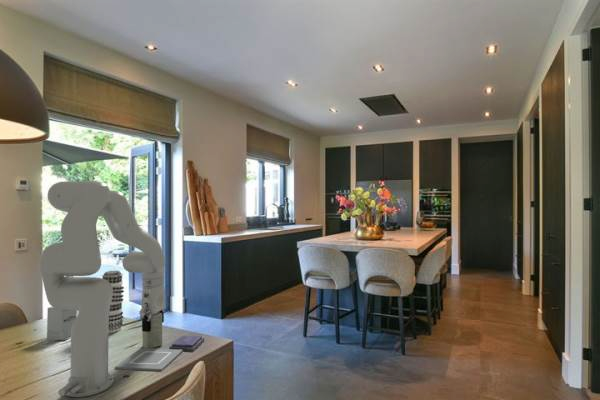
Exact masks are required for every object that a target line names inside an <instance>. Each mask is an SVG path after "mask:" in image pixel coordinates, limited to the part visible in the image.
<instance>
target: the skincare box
mask: <svg viewBox="0 0 600 400" xmlns="http://www.w3.org/2000/svg"><path fill="white" fill-rule="evenodd" d="M146 316H147V317H148V315H146ZM150 320H151V331H150V332H143V331H142V348H151V349H154V348H157V347H160V346H163V323H162V313H160V312H158V313H156V314H152V315H151V318H150Z"/></svg>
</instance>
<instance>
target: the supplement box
mask: <svg viewBox="0 0 600 400" xmlns="http://www.w3.org/2000/svg"><path fill="white" fill-rule="evenodd" d="M77 312H78V311H75V310H61V309H56V308H54V307H52V306H48V307H47V317H46V318H47V320H46V321H47V323H46V339H47V340H55V341H63V340H65V339H67V338H69V337H70V338H71V328H72V324H73V322H74V320H75V319H76V317H77V316H78V314H77Z"/></svg>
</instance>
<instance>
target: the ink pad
mask: <svg viewBox="0 0 600 400" xmlns="http://www.w3.org/2000/svg"><path fill="white" fill-rule="evenodd" d="M204 342H205V337H203V336H200V335H182V336H180V337H178V339H176V340H175V341H174V342H173V343H171V344H170V346H169V349H177V350H183V352H185V351H187V352H190V351H191V352H195V351H196V349H197V348H199V346H201V345H202V343H204Z"/></svg>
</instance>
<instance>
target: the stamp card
mask: <svg viewBox="0 0 600 400" xmlns="http://www.w3.org/2000/svg"><path fill="white" fill-rule="evenodd" d="M183 352H184V351H183V350H177V349H168V348H144V347H140V349H138V350H137V351H135V352H134V353H133V354H131V355H129V356H128V357H126V359H124V360H122V361H121V362H120V363H118V364H117V365H115V366H114V369H115V370H132V371H135V370H136V371H157V372H162V371H164V369H166V368H167V367H168V366H169V365H170V364H171V363H172V362H173V361H175V360H176V358H178V357H179V356H180V355H181V354H182V353H183Z"/></svg>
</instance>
